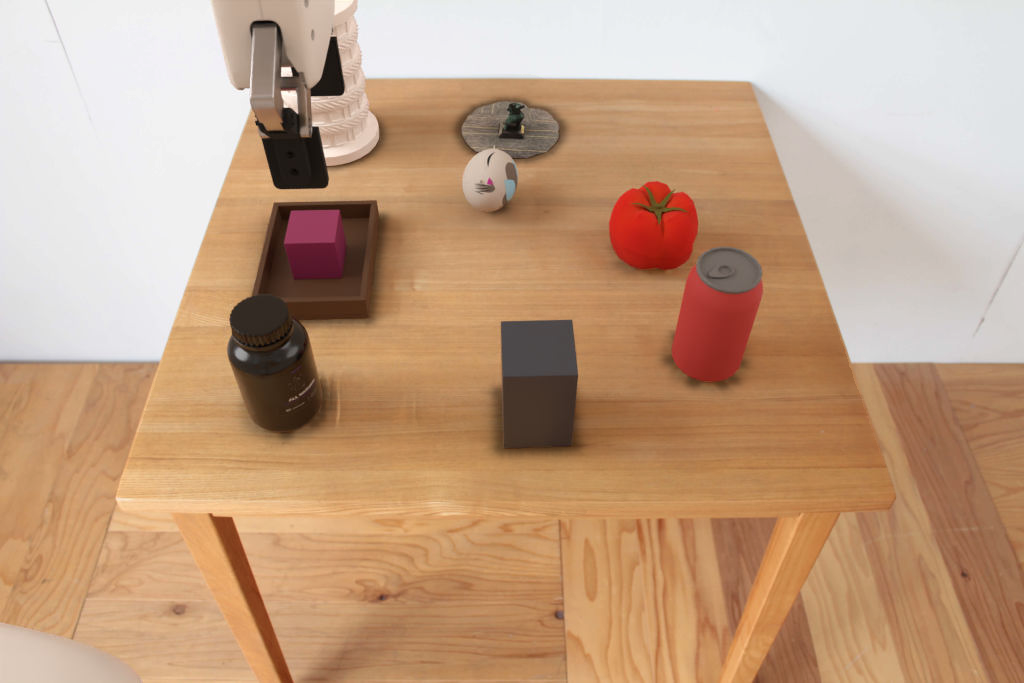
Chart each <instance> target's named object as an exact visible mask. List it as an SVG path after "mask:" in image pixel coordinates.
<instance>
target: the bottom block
mask: <svg viewBox="0 0 1024 683" xmlns="http://www.w3.org/2000/svg"><path fill="white" fill-rule="evenodd" d="M500 358H501V360H500V361H501V362H500V363H501V364H500V365H501V366H500V367H501V369H500V370H501V410H502V411H501V412H502V415H501V416H502V437H503V438H502V443H503V444H502V445H503V448H504V449H514V448H515V449H517V448H518V449H519V448H520V449H521V448H555V447H557V448H558V447H572V445H573V436H574V427H575V426H574V425H575V415H576V404H577V395H578V394H577V393H578V382H579V368H578V358H577V349H576V340H575V331H574V322H573V319H540V320H538V319H537V320H535V319H534V320H501V321H500Z"/></svg>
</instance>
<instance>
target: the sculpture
mask: <svg viewBox="0 0 1024 683" xmlns="http://www.w3.org/2000/svg"><path fill="white" fill-rule="evenodd" d="M559 131H560V124H559V123H558V121H557V120H555V119H554V117H553V116H552V114H550V112H547V111H546V110H545V109H540V108H532V107H531V108H530V107H528V106H527V105H526V104H525V103H523V102H518V101H508V100H507V101H506V100H505V101H503V100H501V101H498V102H494V103H491V104H487V105H482V106H479V107H476V108H475V110H473V112H471V113H469V114H468V115H467V118H465V120H464V122H463V123H462V126H461V136H462V138H463V140H464V142H465V143H466V145H468V147H470V149H472V150H474V152H476V153H479V152H481V151H484V150H487V149H493V147H494V145H495V149H499V150H502V151H504V152H506V153H507V154H508V155H509V156H510V157H511V158H512V159H523V158H525V159H528V158H532V157H534V156H537V155H541V154H545V153H548V151H549V150H550V149H552V147H553V146H554V145H555V144H556V143H557V141H558V140H559V137H560V133H559Z"/></svg>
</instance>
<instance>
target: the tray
mask: <svg viewBox="0 0 1024 683" xmlns="http://www.w3.org/2000/svg"><path fill="white" fill-rule="evenodd" d="M303 210H340V214H341V219H342V224H343V229H344V234H345V239H346V244H347V247H346V254H345V262H344V269H343V276H342V278H331V279H293V275H292V271H291V268H290V264H289V260H288V256H287V253H286V249H285V245H284V241H285V237H286V232H287V227H288V222H289V218H290V213H291V211H303ZM267 225H268V226H267V229H266V234H265V238H264V243H263V247H262V251H261V255H260V258H259V263H258V268H257V271H256V275H255V276H256V277H255V280H254V284H253V288H252V293H251V296H254V295H258V294H260V295H262V294H266V295H267V294H270V295H275V296H276V297H279V298H280V299H283V301H284V302H286V304H287V306H288V307H289V311H290V314H291V316H292V318H294V319H296V320H297V321H299V320H300V321H303V320H305V321H307V320H343V319H345V320H346V319H369V317H370V309H371V302H372V293H373V292H372V291H373V290H372V289H373V282H374V273H375V264H376V256H377V254H376V253H377V244H378V236H379V226H380V213H379V206H378V200H377V199H374V200H373V199H372V200H369V199H368V200H324V201H323V200H322V201H321V200H320V201H278V202H276V201H275V202H273V204H272V208H271V212H270V217H269V221H268V224H267Z"/></svg>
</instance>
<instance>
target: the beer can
mask: <svg viewBox="0 0 1024 683" xmlns="http://www.w3.org/2000/svg"><path fill="white" fill-rule="evenodd" d="M763 275H764V274H763V269H762V266H761V264H760V262H759V260H757V259H756V257H754V256H753V255H752V254H750V253H749V252H747V251H745V250H743V249H740V248H737V247H732V246H717V247H712V248H709V249H707V250H705V251H704V252H702V253H701V254H700V255H699V256H698V258H697V261H696V263H695V264H694V265H693V266H692V268H691V269H690V271H689V273H688V274H687V278H686V281H685V287H684V290H683V295H682V300H681V304H680V308H679V313H678V318H677V322H676V327H675V331H674V336H673V340H672V345H671V357H672V359H673V362H674V364H675V366H676V367H677V368H678V369H679V370H680V371H681V372H682V373H683V374H684V375H686V376H688V377H690V378H691V379H693V380H697V381H699V382H703V383H704V382H705V383H717V382H721V381H726V380H727V379H730V377H733V376H734V375H735V374H736V373H737V372H738V370H739V369H740V368H741V365H742V361H743V358H744V355H745V352H746V349H747V346H748V342H749V340H750V336H751V334H752V333H751V332H752V330H753V327H754V323H755V320H756V317H757V314H758V311H759V308H760V305H761V302H762V298H763V295H764V294H763V293H764V284H763V280H762V279H763V278H762V277H763Z"/></svg>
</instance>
